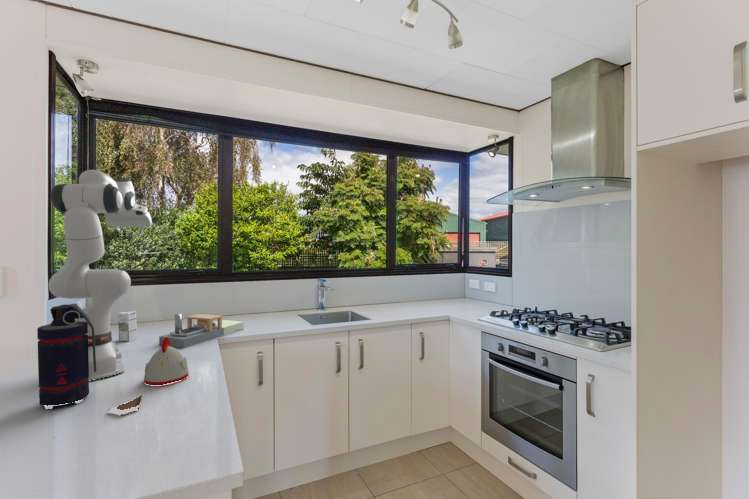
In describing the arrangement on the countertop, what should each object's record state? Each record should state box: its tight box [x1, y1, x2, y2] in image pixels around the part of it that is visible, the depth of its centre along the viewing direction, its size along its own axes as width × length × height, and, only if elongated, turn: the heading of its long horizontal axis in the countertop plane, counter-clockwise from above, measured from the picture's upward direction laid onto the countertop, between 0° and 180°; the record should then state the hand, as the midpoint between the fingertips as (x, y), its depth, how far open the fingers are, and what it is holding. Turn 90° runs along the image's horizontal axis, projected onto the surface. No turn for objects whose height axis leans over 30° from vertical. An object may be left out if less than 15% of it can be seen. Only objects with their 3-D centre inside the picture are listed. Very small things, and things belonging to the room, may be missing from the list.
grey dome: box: [143, 337, 189, 385], centre depth 133 cm, size 14×14×15 cm
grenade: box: [36, 303, 96, 406], centre depth 114 cm, size 14×12×30 cm
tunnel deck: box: [158, 313, 245, 349], centre depth 193 cm, size 40×16×10 cm, turn 158°
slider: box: [169, 313, 218, 336], centre depth 188 cm, size 22×10×10 cm, turn 158°
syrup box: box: [117, 310, 138, 342], centre depth 186 cm, size 6×6×14 cm
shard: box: [117, 394, 143, 410], centre depth 110 cm, size 11×8×2 cm
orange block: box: [196, 320, 208, 328], centre depth 193 cm, size 5×5×4 cm
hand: (131, 233), depth 195 cm, fingers open, 8 cm apart
